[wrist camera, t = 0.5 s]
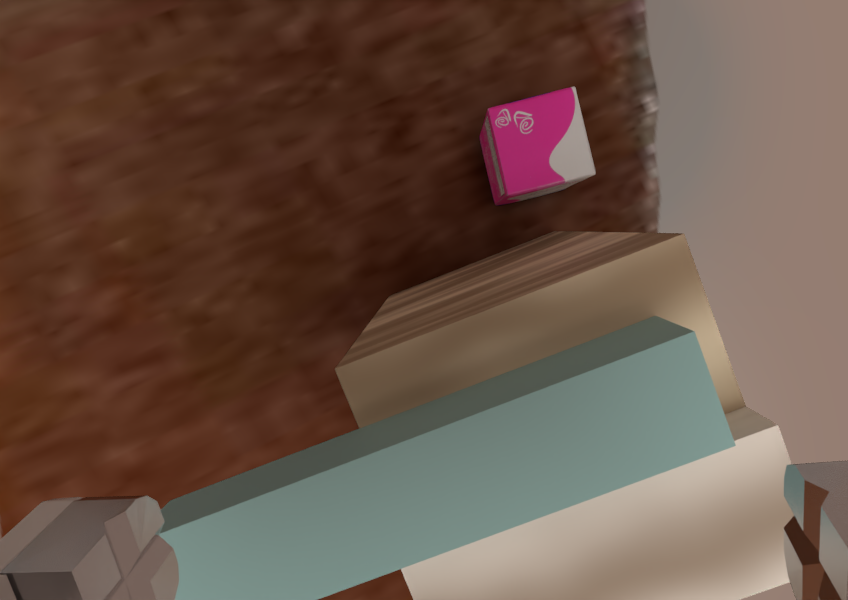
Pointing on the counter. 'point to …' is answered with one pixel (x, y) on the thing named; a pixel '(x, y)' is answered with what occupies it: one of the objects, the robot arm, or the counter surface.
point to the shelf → (526, 317)
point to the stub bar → (452, 470)
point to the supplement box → (535, 146)
